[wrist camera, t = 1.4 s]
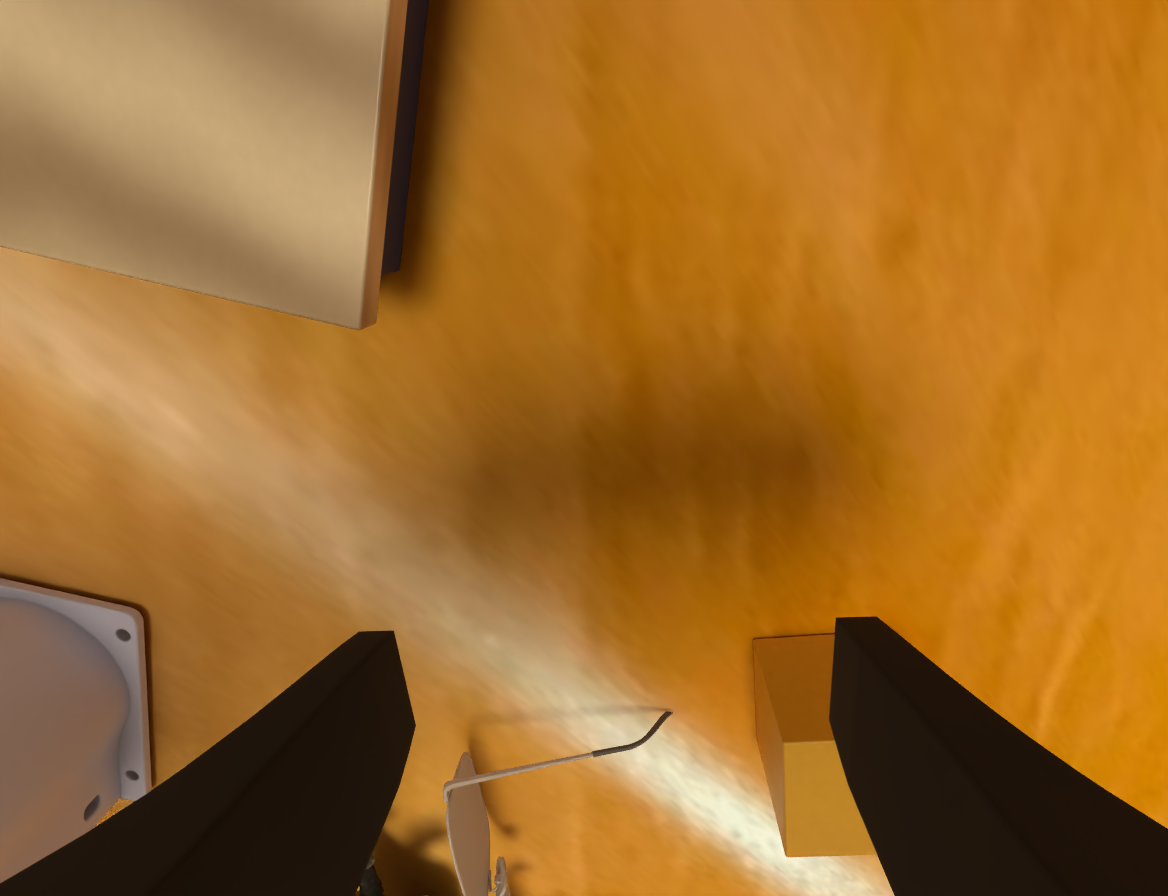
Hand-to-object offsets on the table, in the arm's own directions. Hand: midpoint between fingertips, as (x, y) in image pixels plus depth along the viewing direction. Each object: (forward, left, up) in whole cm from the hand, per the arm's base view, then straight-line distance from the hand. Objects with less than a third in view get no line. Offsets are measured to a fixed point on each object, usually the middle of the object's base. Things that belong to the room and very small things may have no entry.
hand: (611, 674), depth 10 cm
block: (-7, -9, -10) cm, 15 cm away
